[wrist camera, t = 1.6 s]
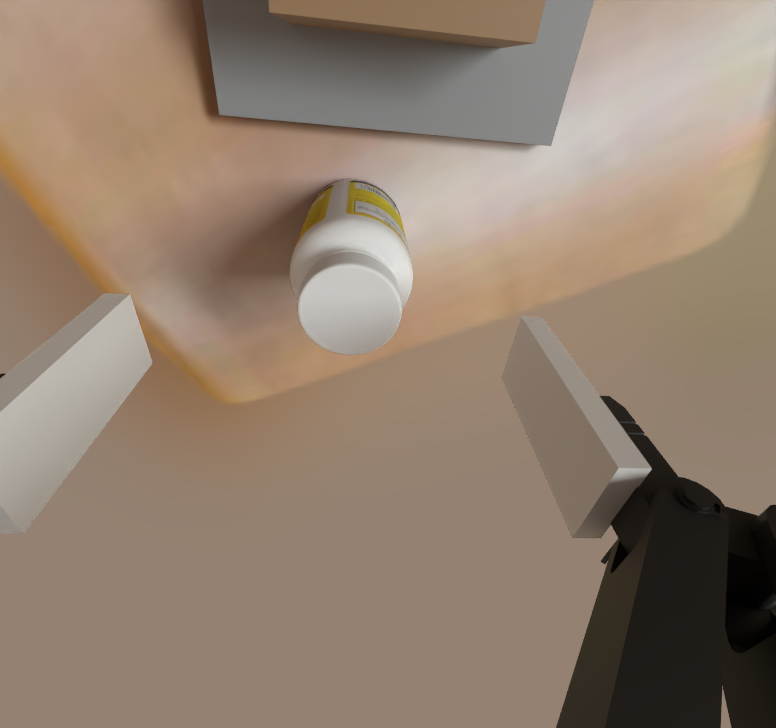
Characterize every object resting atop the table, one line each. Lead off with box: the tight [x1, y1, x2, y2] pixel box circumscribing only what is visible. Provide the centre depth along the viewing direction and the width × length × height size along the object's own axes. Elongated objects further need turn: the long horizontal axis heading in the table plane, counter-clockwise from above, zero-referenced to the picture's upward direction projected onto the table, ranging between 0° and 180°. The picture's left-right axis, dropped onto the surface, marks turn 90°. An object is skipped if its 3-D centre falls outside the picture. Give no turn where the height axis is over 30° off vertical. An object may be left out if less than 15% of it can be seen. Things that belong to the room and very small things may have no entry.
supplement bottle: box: [290, 179, 413, 355], centre depth 19 cm, size 5×5×10 cm
